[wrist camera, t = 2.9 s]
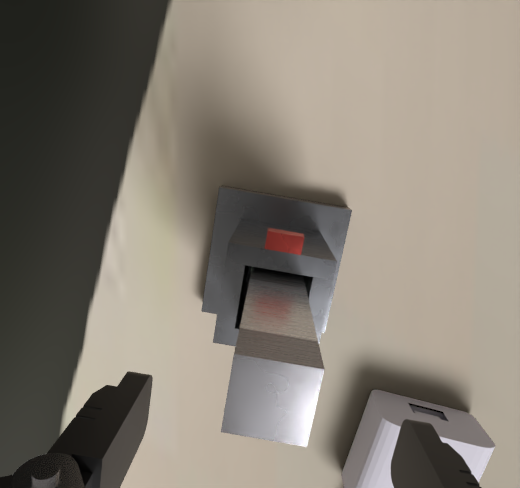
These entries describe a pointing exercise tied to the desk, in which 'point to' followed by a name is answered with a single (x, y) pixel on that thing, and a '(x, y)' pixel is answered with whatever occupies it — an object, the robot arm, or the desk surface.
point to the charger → (387, 430)
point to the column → (274, 362)
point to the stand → (271, 252)
